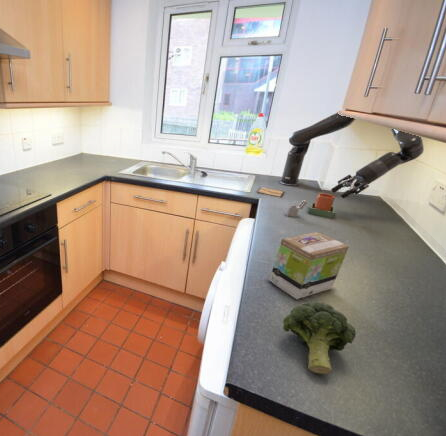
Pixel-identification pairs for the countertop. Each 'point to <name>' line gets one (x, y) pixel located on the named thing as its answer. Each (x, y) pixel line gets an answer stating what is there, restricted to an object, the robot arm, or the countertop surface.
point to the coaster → (270, 192)
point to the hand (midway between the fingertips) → (336, 193)
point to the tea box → (307, 264)
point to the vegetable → (320, 332)
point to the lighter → (295, 209)
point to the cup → (324, 201)
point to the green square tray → (322, 211)
